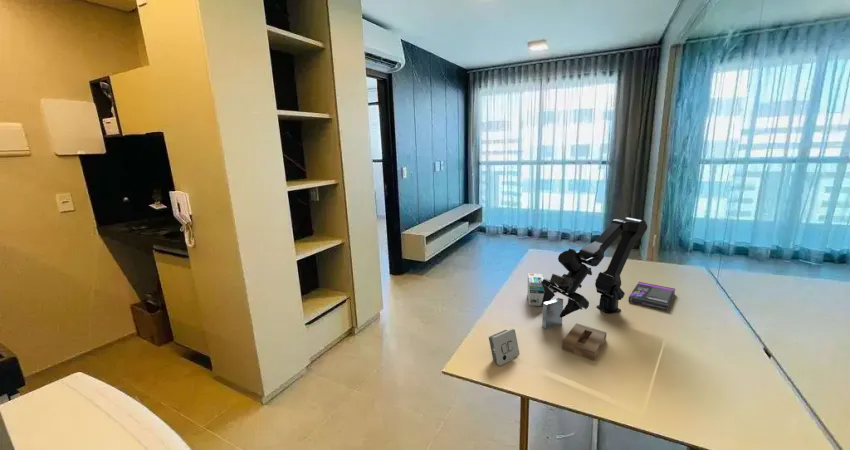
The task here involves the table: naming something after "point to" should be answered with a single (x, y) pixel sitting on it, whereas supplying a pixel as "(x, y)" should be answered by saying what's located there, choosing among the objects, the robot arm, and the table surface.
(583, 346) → the walnut slot box
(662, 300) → the box
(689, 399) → the table surface
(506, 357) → the electrical switch
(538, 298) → the light bulb box
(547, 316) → the gray rectangular metal block
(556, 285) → the robot arm
